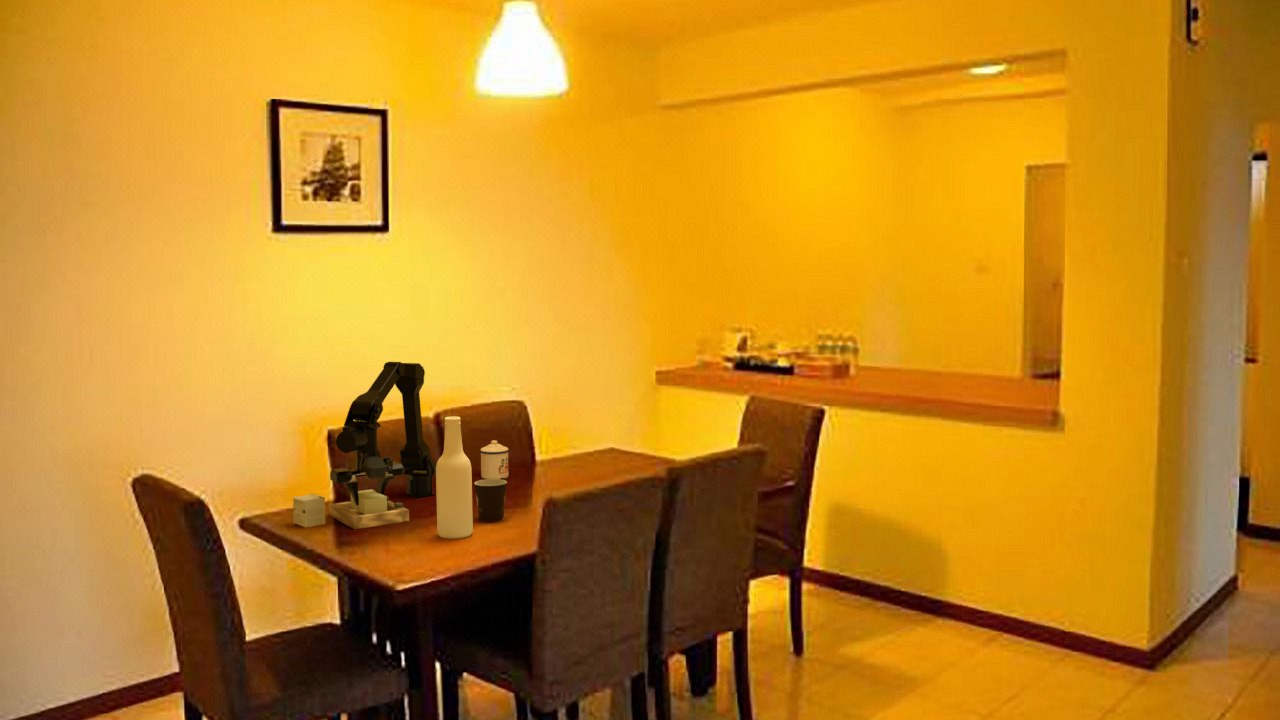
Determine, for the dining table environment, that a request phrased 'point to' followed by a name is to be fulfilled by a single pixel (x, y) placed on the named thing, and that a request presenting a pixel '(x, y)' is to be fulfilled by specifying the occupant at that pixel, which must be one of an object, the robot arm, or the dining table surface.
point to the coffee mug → (490, 499)
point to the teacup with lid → (494, 461)
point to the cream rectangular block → (370, 502)
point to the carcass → (368, 515)
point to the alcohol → (454, 485)
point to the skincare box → (309, 510)
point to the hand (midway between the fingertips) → (368, 503)
